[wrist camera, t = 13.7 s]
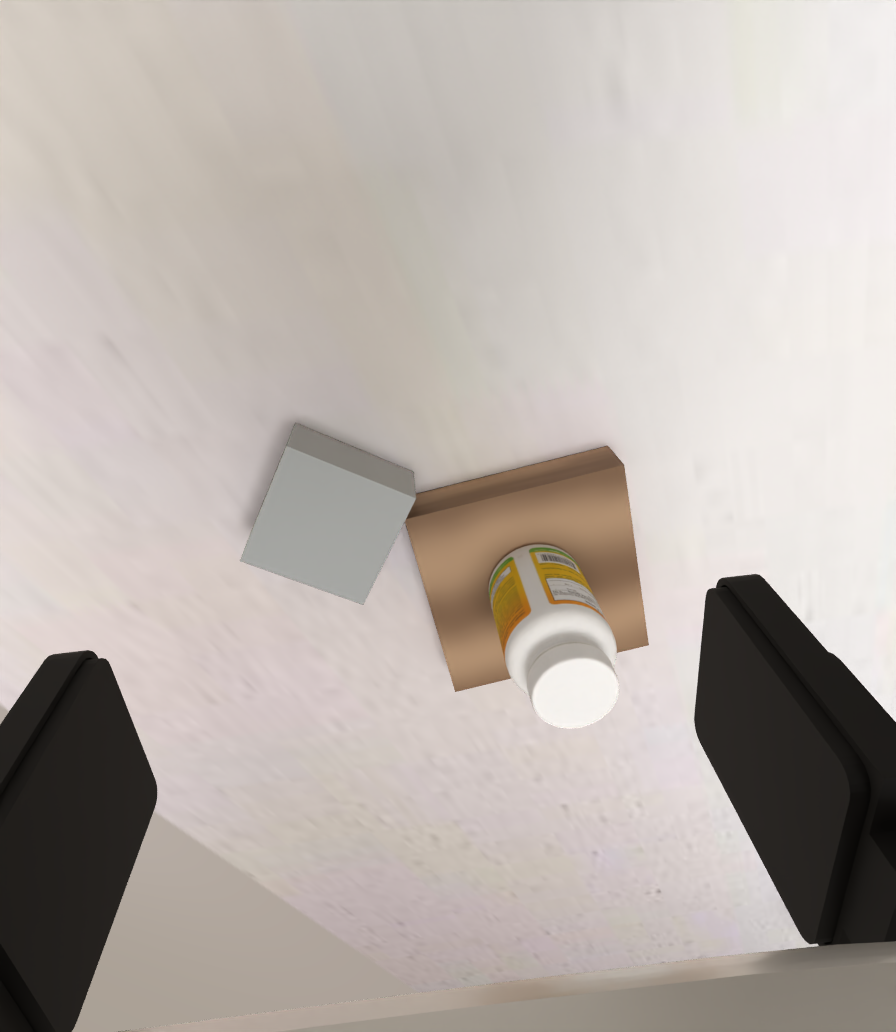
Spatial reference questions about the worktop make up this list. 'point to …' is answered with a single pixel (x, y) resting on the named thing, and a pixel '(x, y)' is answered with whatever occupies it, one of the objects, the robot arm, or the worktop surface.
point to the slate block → (330, 515)
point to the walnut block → (517, 523)
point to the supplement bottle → (554, 636)
